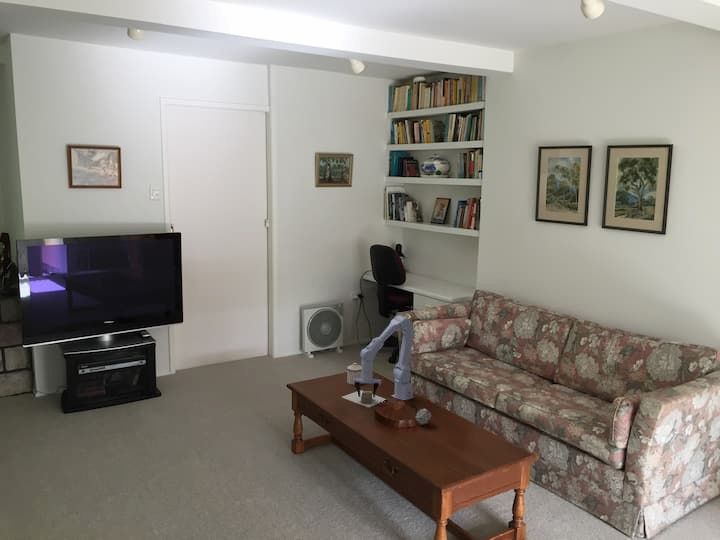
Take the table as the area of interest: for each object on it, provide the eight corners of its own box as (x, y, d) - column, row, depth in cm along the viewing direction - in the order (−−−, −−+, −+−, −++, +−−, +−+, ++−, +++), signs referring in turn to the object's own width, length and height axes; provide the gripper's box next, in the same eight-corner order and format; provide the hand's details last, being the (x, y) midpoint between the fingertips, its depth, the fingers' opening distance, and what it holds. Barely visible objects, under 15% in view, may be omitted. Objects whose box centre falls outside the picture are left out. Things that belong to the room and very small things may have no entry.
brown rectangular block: (370, 403, 320) (370, 396, 319) (361, 403, 321) (361, 396, 320) (372, 398, 328) (372, 391, 327) (362, 397, 328) (362, 391, 328)
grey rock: (419, 432, 297) (407, 416, 295) (425, 420, 303) (413, 405, 302) (433, 428, 291) (421, 412, 289) (439, 416, 297) (427, 400, 296)
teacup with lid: (365, 384, 351) (365, 364, 349) (351, 386, 347) (351, 366, 345) (356, 377, 362) (356, 358, 360) (341, 380, 358) (342, 360, 356)
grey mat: (388, 400, 326) (388, 399, 326) (368, 408, 316) (368, 407, 316) (360, 391, 340) (360, 389, 340) (341, 398, 330) (341, 396, 329)
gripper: (381, 369, 325) (381, 394, 327) (353, 368, 326) (353, 393, 328) (380, 374, 318) (380, 399, 320) (352, 372, 319) (352, 398, 321)
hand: (366, 396), depth 324 cm, fingers open, 7 cm apart
